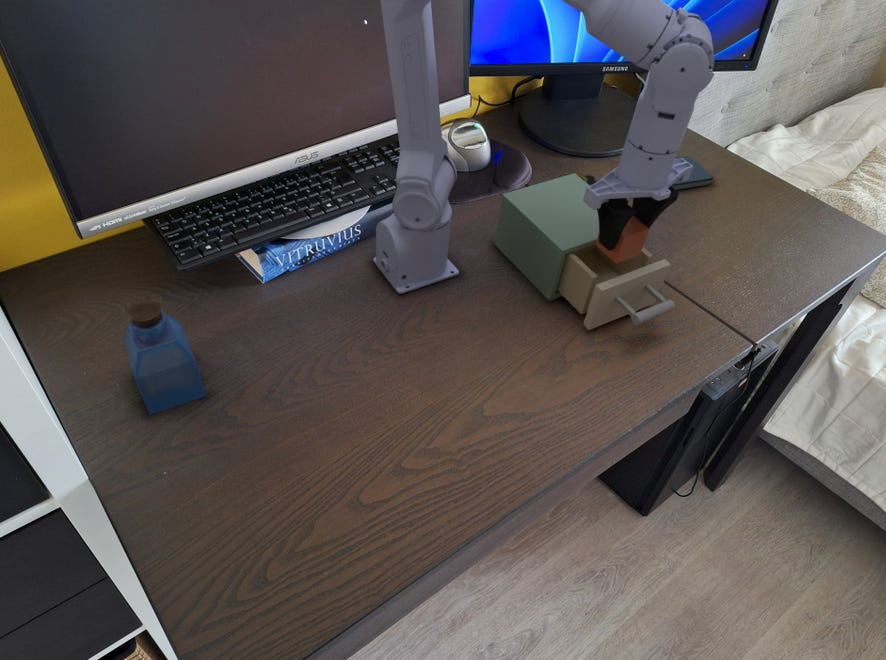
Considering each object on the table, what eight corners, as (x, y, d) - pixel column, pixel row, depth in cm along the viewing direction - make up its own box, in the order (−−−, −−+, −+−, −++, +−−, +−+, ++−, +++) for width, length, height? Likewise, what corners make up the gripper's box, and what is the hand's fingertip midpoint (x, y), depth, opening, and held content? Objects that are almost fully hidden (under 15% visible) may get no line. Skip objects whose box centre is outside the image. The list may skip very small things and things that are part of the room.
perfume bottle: (191, 359, 79) (168, 282, 70) (206, 396, 76) (183, 320, 67) (137, 376, 77) (106, 299, 68) (149, 414, 74) (118, 339, 65)
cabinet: (620, 274, 95) (638, 225, 88) (549, 301, 90) (562, 250, 84) (562, 222, 102) (574, 172, 96) (493, 244, 98) (502, 193, 91)
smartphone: (716, 178, 111) (642, 189, 106) (712, 186, 112) (638, 198, 108) (689, 154, 116) (617, 164, 111) (685, 163, 117) (614, 173, 112)
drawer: (679, 325, 87) (698, 286, 82) (612, 354, 83) (627, 315, 78) (595, 250, 97) (607, 210, 92) (532, 272, 92) (541, 232, 87)
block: (615, 263, 82) (624, 237, 79) (595, 245, 84) (603, 219, 81) (640, 254, 83) (649, 228, 80) (619, 236, 86) (627, 210, 83)
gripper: (627, 174, 68) (594, 276, 78) (727, 144, 73) (685, 243, 83) (583, 141, 72) (558, 242, 82) (682, 114, 77) (647, 212, 87)
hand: (619, 240), depth 83 cm, fingers closed on block, 4 cm apart
